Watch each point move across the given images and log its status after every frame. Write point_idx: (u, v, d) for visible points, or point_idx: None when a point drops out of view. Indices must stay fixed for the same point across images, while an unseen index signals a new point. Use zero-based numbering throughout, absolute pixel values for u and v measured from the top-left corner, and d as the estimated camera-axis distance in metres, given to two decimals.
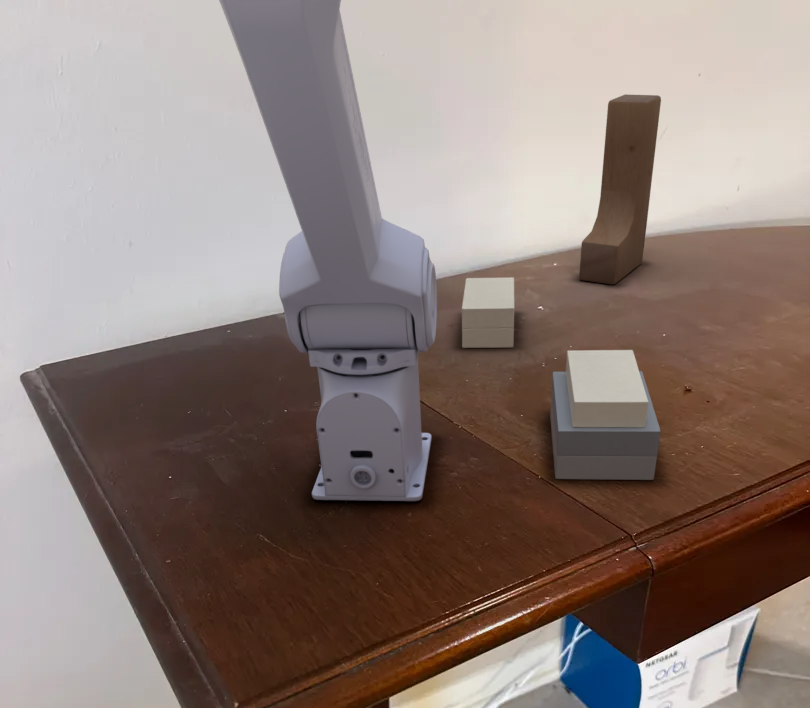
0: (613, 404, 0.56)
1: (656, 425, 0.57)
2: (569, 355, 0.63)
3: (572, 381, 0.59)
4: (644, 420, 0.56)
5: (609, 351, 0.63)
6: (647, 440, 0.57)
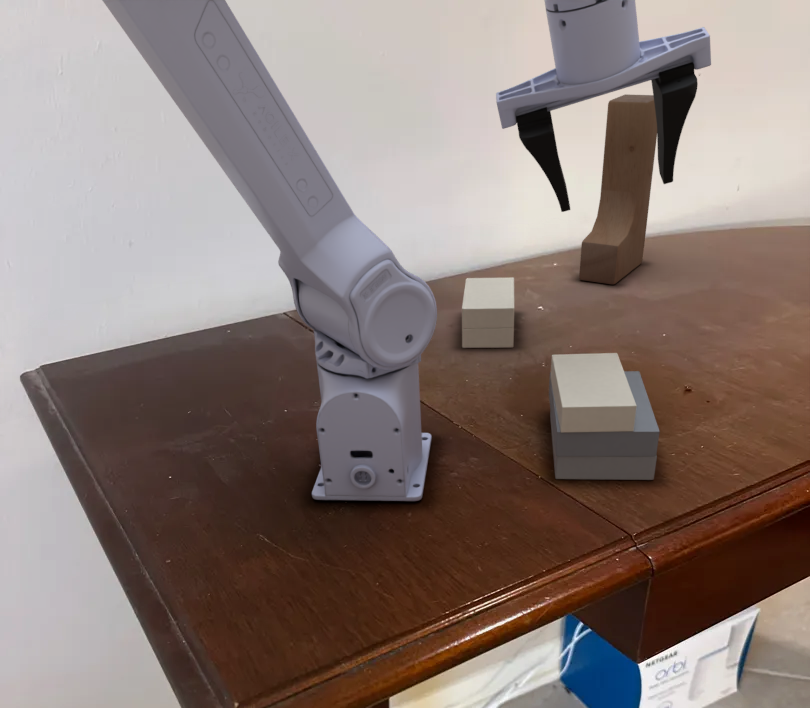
0: (601, 408, 0.55)
1: (655, 425, 0.57)
2: (554, 359, 0.62)
3: (559, 386, 0.58)
4: (632, 424, 0.56)
5: (594, 354, 0.62)
6: (646, 440, 0.57)
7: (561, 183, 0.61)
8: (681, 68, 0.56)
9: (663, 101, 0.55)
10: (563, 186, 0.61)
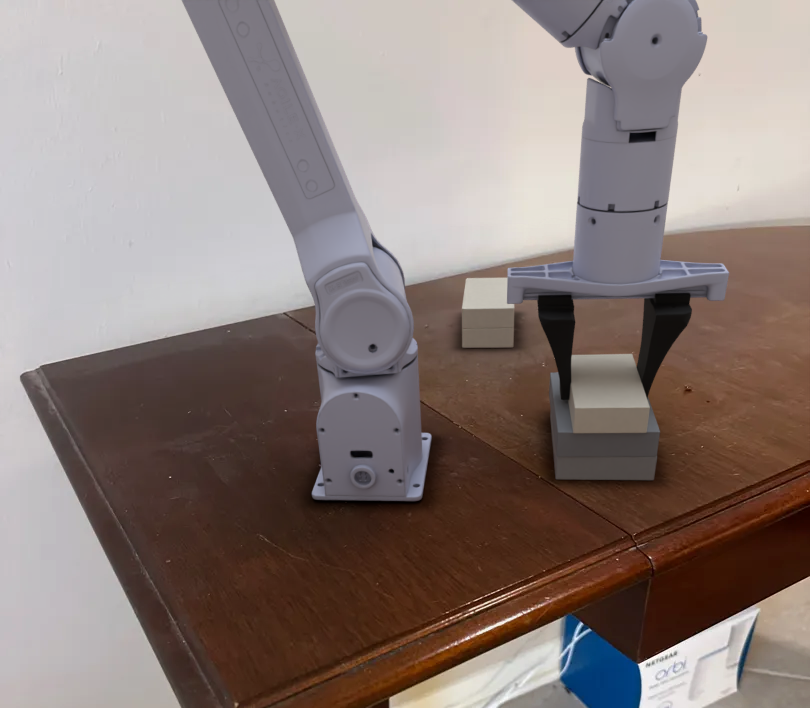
0: (614, 409, 0.55)
1: (655, 425, 0.57)
2: None
3: (572, 386, 0.58)
4: (645, 425, 0.56)
5: (608, 355, 0.62)
6: (646, 441, 0.57)
7: (568, 372, 0.58)
8: (678, 295, 0.55)
9: (656, 321, 0.54)
10: (569, 375, 0.58)
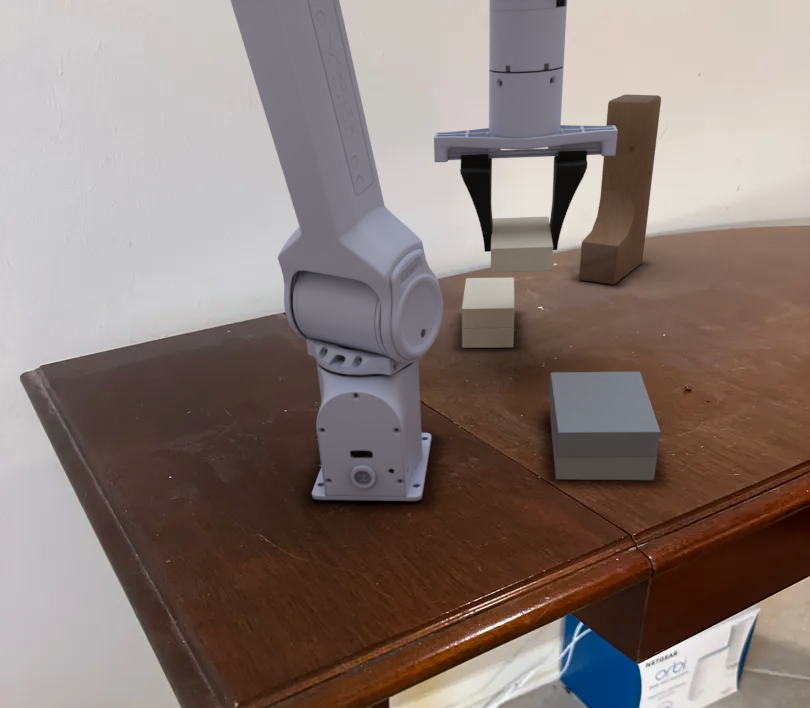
0: (523, 249, 0.66)
1: (656, 425, 0.57)
2: (493, 221, 0.72)
3: (492, 236, 0.69)
4: (551, 264, 0.66)
5: (528, 217, 0.72)
6: (647, 441, 0.57)
7: (488, 224, 0.69)
8: (576, 152, 0.65)
9: (557, 172, 0.64)
10: (490, 227, 0.69)
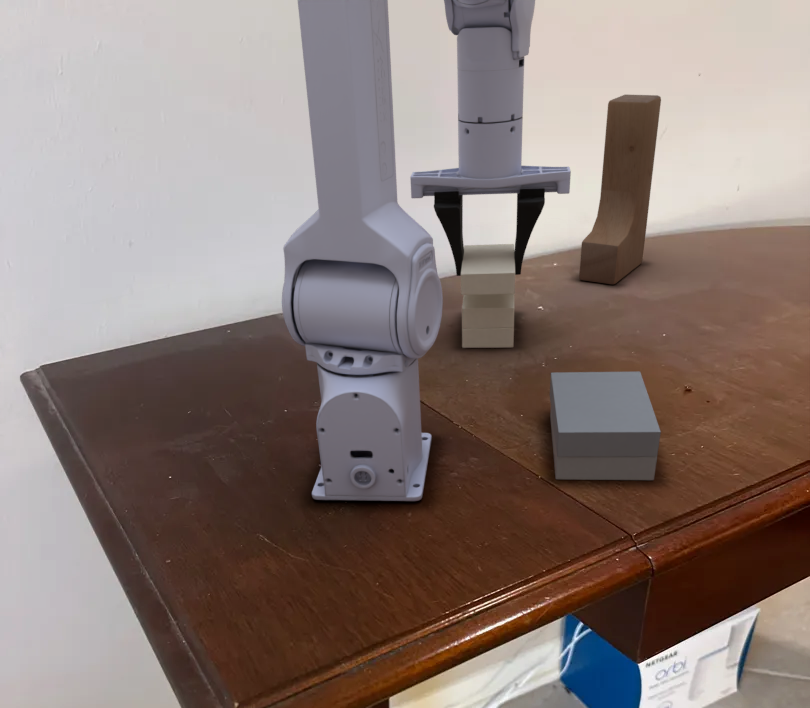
0: (489, 275, 0.75)
1: (656, 425, 0.57)
2: (464, 248, 0.81)
3: (462, 262, 0.78)
4: (513, 287, 0.75)
5: (495, 245, 0.82)
6: (647, 441, 0.57)
7: (459, 252, 0.78)
8: (535, 190, 0.74)
9: (518, 208, 0.74)
10: (460, 254, 0.78)
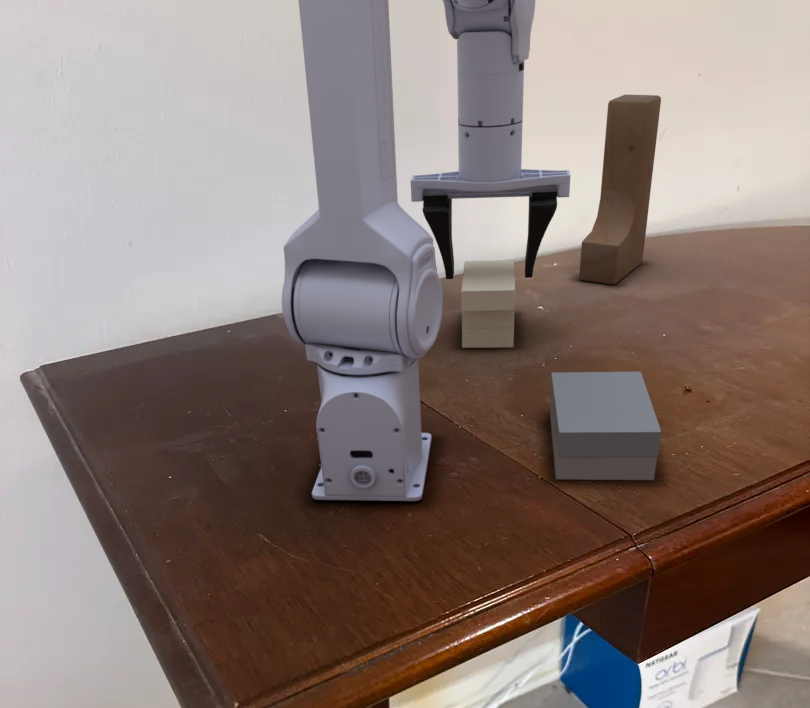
0: (489, 292, 0.76)
1: (656, 426, 0.57)
2: (465, 264, 0.82)
3: (463, 279, 0.78)
4: (513, 304, 0.76)
5: (495, 261, 0.82)
6: (648, 441, 0.57)
7: (448, 255, 0.78)
8: (548, 193, 0.74)
9: (530, 211, 0.74)
10: (450, 258, 0.78)
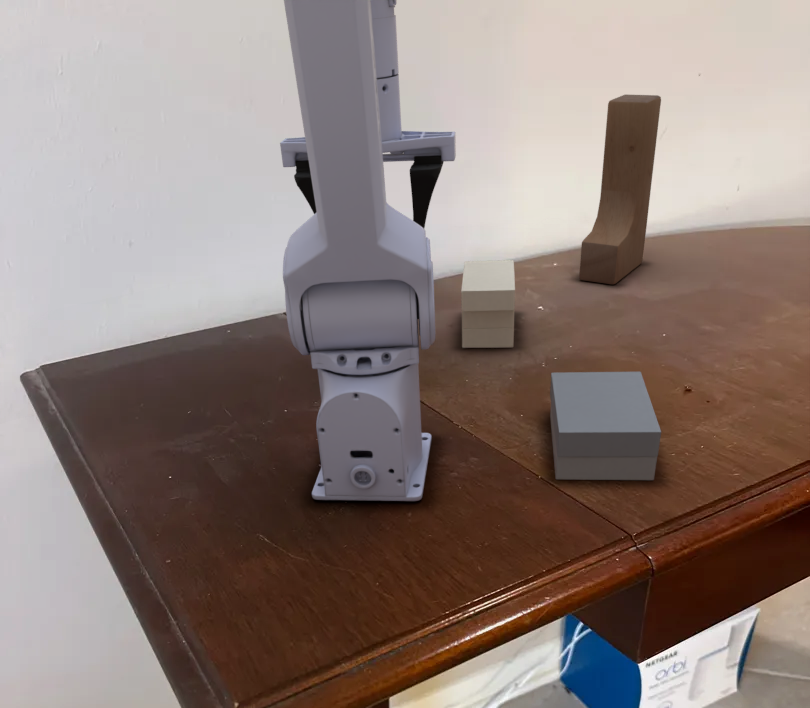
0: (489, 292, 0.76)
1: (656, 426, 0.57)
2: (465, 264, 0.82)
3: (463, 279, 0.79)
4: (513, 304, 0.76)
5: (495, 261, 0.82)
6: (648, 441, 0.57)
7: None
8: (431, 157, 0.67)
9: (410, 176, 0.66)
10: None
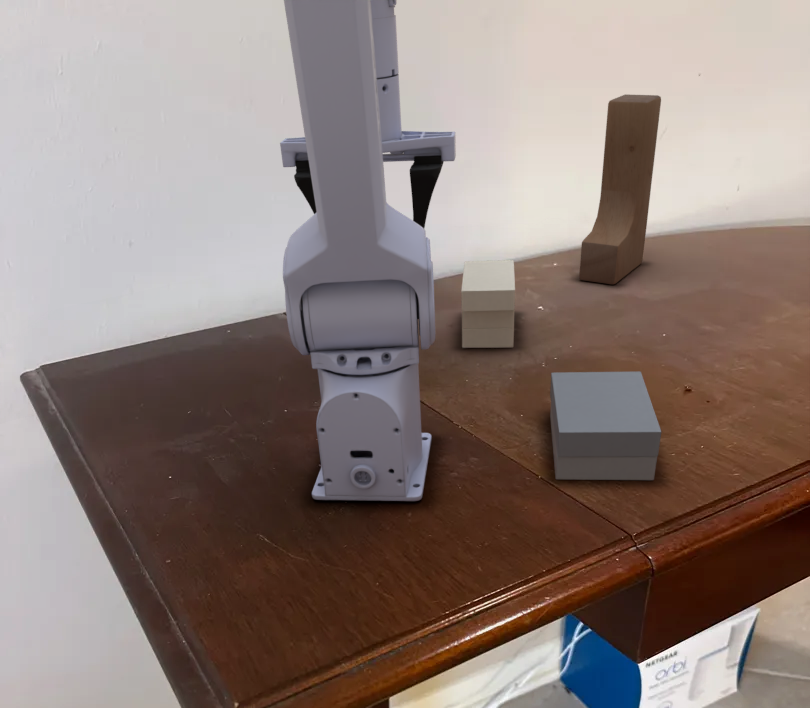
0: (489, 292, 0.76)
1: (657, 425, 0.57)
2: (465, 264, 0.82)
3: (463, 279, 0.78)
4: (513, 304, 0.76)
5: (495, 261, 0.82)
6: (648, 441, 0.57)
7: None
8: (431, 157, 0.67)
9: (410, 176, 0.66)
10: None
